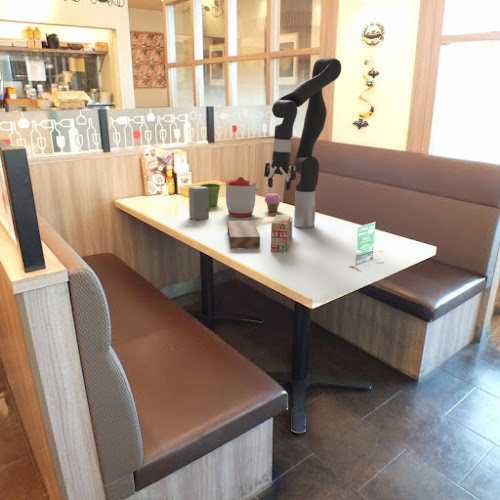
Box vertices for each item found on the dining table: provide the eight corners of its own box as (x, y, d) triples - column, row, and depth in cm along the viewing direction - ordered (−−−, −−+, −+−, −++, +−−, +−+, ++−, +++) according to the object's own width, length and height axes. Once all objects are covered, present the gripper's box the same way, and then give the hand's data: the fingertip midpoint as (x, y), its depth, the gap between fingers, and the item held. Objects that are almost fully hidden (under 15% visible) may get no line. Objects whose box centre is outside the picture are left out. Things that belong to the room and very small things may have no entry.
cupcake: (280, 213, 236) (281, 195, 233) (264, 213, 236) (264, 194, 233) (280, 209, 245) (280, 191, 241) (264, 209, 245) (264, 191, 241)
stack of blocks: (277, 236, 199) (278, 209, 195) (292, 237, 198) (293, 210, 194) (270, 251, 179) (271, 222, 175) (285, 253, 178) (287, 223, 174)
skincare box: (194, 220, 221) (193, 189, 215) (188, 217, 226) (187, 186, 221) (210, 218, 225) (209, 187, 220) (203, 215, 231) (202, 185, 225)
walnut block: (253, 231, 205) (253, 220, 204) (259, 248, 183) (259, 236, 181) (227, 231, 204) (227, 220, 203) (230, 248, 182) (230, 237, 180)
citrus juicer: (264, 215, 232) (265, 177, 225) (236, 220, 222) (236, 180, 216) (246, 209, 244) (247, 172, 237) (219, 213, 234) (219, 175, 228)
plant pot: (197, 204, 254) (196, 184, 250) (216, 202, 259) (216, 182, 255) (204, 208, 244) (203, 188, 240) (224, 206, 249) (224, 186, 245)
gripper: (300, 151, 187) (297, 190, 192) (271, 148, 195) (269, 185, 199) (292, 152, 181) (289, 192, 186) (262, 149, 189) (260, 187, 193)
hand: (278, 188), depth 193 cm, fingers open, 8 cm apart
